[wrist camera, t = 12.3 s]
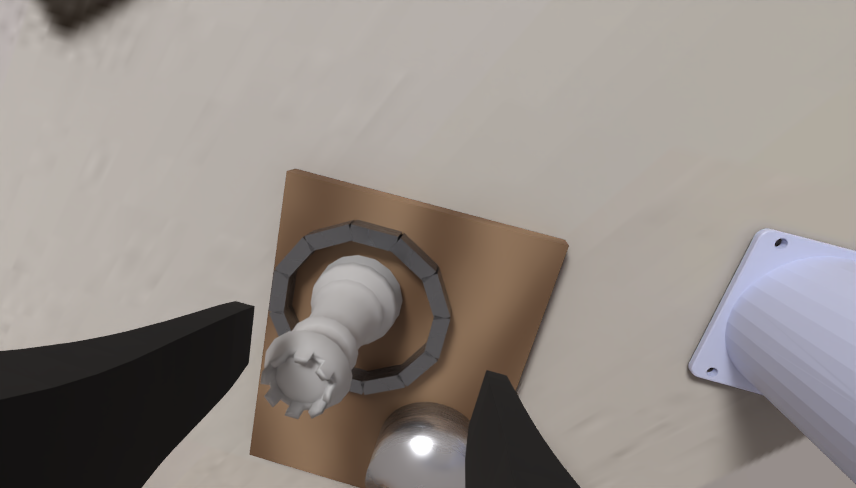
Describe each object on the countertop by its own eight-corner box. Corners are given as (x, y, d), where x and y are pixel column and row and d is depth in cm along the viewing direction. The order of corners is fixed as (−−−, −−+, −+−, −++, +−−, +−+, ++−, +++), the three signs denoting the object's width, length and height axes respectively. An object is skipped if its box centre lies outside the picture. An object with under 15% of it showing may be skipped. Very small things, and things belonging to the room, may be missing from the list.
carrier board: (564, 239, 20) (569, 245, 19) (468, 505, 26) (468, 519, 25) (295, 168, 21) (286, 171, 20) (257, 442, 26) (249, 454, 25)
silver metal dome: (495, 419, 22) (497, 462, 20) (466, 499, 24) (464, 549, 21) (390, 389, 23) (377, 427, 20) (369, 470, 25) (355, 516, 22)
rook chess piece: (418, 275, 21) (382, 365, 13) (384, 344, 22) (333, 462, 14) (338, 237, 21) (254, 304, 13) (308, 309, 22) (218, 408, 14)
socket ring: (469, 249, 20) (468, 255, 19) (425, 400, 23) (423, 412, 22) (291, 201, 20) (282, 205, 19) (270, 355, 23) (261, 365, 22)
